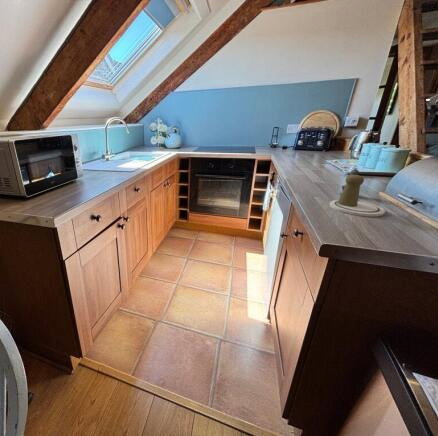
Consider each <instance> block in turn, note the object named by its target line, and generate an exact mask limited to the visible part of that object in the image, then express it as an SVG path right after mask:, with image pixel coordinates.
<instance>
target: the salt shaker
mask: <svg viewBox="0 0 438 436" xmlns="http://www.w3.org/2000/svg"><path fill="white" fill-rule="evenodd" d="M359 174H360V171H359V170H358V169H357V167H354V169H351V170H350V172H349V175H359ZM345 185H346V184H344V185H341V190H342V191H343V189H344V187H345ZM341 194H342V192H340V195H341Z"/></svg>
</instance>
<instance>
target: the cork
mask: <svg viewBox="0 0 438 436" xmlns="http://www.w3.org/2000/svg"><path fill="white" fill-rule="evenodd" d="M364 182H365V178H364V176H362V175H359V174H358V175H350V174H349V175H347V176H346V178H345V184H344V185H345V187H344V189H343V190H342V192H341V193H342V194H341V193H340V196H339V198H338V199H337V200H338V202H337V203H338V204H340V205H343V206H349V207H355V206H357V203H358V201H359V195H360V191H361V185H362V184H364Z"/></svg>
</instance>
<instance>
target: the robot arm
mask: <svg viewBox="0 0 438 436" xmlns="http://www.w3.org/2000/svg"><path fill="white" fill-rule="evenodd" d="M425 102H426V103H425V104H426V110H427V114H428V115H429V117H428V119H427V122H426V124H425V127H424V129H427V130H437V129H438V93H437V94H435V95H433V96H430V97H428V98H426V99H425Z"/></svg>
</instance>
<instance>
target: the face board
mask: <svg viewBox="0 0 438 436" xmlns="http://www.w3.org/2000/svg"><path fill="white" fill-rule="evenodd" d="M338 200H339V199H333V200H331V201H330V202H329V207H330V208H332V209H333V210H335V211H338V212H341V213H345V214H348V215H353V216H360V217H369V218H370V217H371V218H374V217H375V218H376V217H382V216H384V215H385V214H386V210H385V209H384V207H381V206H379V205H376V204H374V203H369V202H365V201H361V200H358V203H357V206H355V207H349V206H343V205H340V204H338V203H337V202H338Z"/></svg>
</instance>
